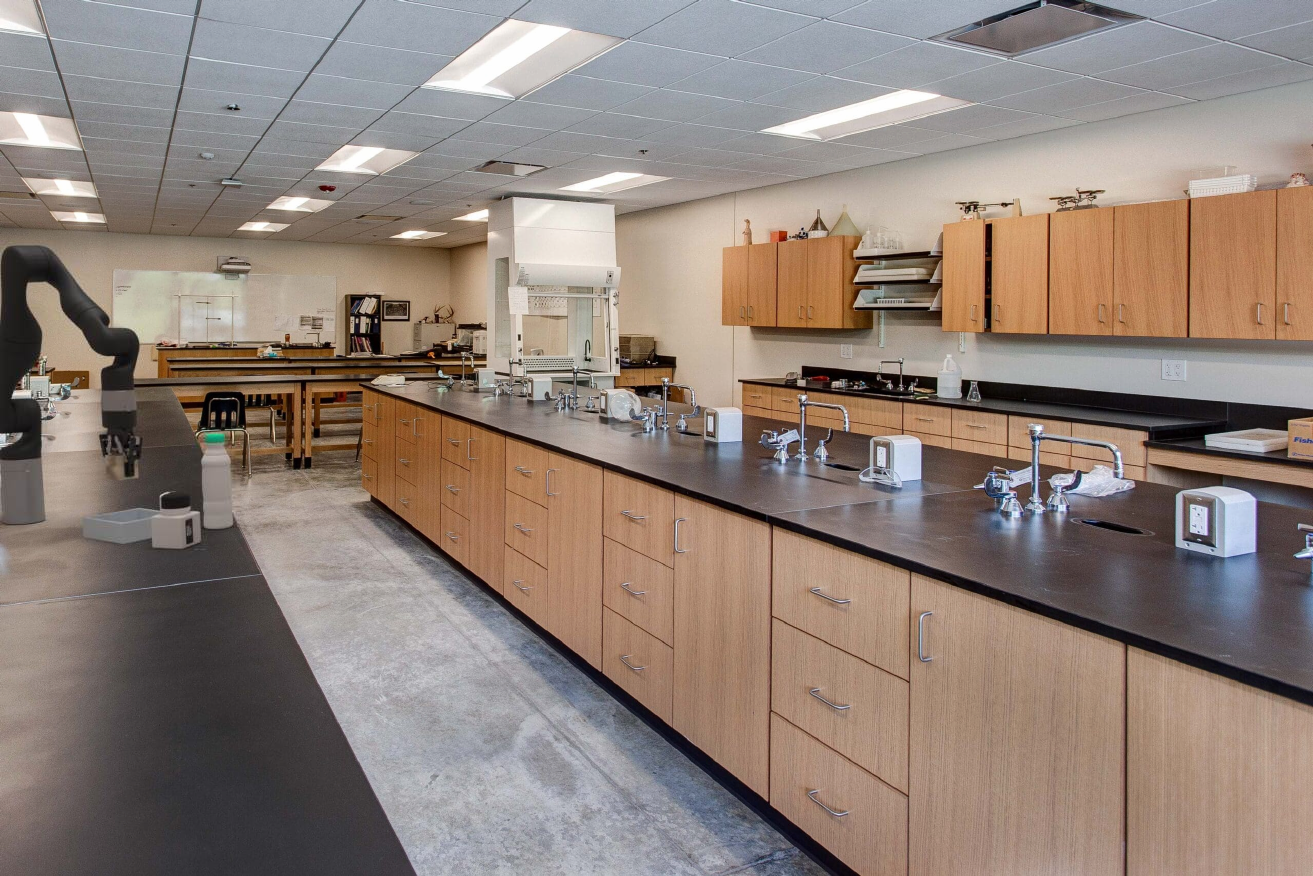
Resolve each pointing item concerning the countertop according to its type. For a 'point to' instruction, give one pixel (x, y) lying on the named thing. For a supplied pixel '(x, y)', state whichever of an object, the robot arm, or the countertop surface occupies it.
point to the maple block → (117, 467)
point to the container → (175, 522)
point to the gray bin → (120, 526)
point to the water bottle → (216, 483)
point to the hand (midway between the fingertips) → (122, 475)
